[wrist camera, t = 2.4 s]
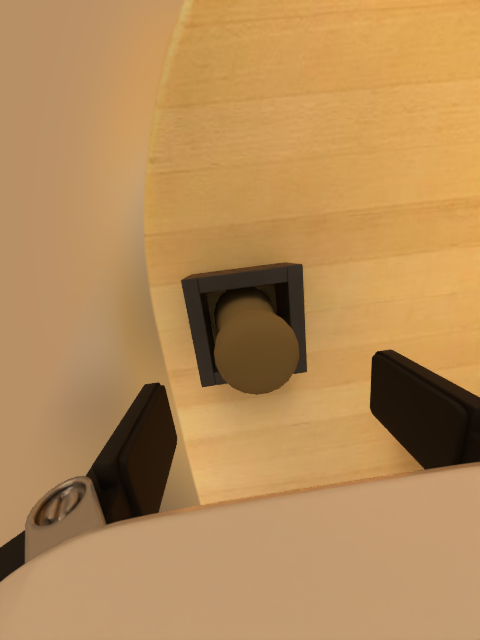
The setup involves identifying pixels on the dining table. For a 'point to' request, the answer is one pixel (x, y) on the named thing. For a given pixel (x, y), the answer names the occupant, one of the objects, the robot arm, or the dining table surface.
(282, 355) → the cork
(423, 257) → the dining table surface
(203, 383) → the socket base
